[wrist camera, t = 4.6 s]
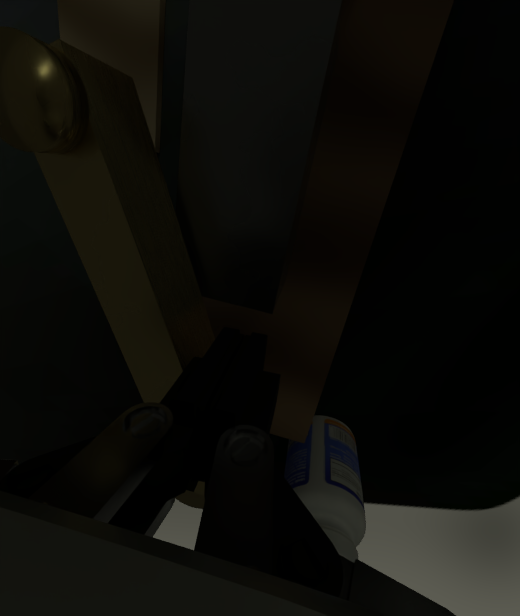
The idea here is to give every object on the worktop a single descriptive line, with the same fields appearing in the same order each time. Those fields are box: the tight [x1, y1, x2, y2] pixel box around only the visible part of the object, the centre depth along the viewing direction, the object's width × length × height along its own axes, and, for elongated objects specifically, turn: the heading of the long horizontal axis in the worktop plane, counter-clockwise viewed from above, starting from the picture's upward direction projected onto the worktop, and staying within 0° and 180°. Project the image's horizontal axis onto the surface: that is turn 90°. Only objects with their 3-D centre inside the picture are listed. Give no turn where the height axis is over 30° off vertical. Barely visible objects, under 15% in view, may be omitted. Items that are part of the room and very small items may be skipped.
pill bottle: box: [284, 415, 366, 562], centre depth 21 cm, size 5×5×10 cm
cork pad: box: [58, 0, 166, 153], centre depth 17 cm, size 12×6×1 cm, turn 169°
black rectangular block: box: [176, 0, 342, 314], centre depth 13 cm, size 10×4×4 cm, turn 169°
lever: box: [0, 27, 264, 509], centre depth 13 cm, size 15×2×9 cm, turn 13°
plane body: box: [202, 0, 454, 443], centre depth 16 cm, size 26×10×9 cm, turn 169°
